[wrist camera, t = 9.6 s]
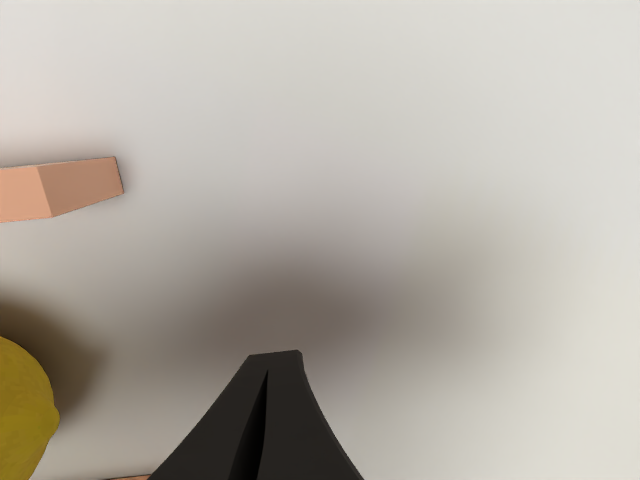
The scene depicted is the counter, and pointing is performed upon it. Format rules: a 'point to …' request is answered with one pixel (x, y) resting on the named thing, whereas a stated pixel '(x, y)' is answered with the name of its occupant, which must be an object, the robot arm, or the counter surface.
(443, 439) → the counter surface
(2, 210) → the terracotta bay
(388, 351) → the counter surface
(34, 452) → the lemon
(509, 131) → the counter surface
